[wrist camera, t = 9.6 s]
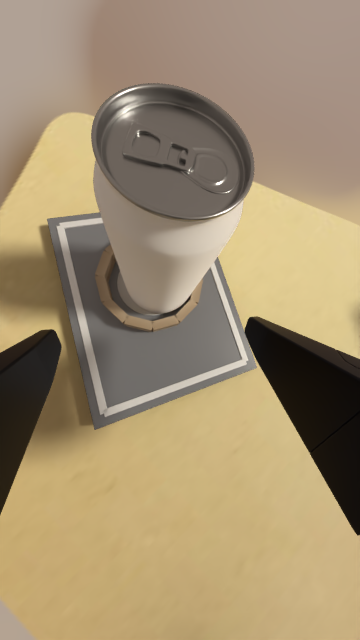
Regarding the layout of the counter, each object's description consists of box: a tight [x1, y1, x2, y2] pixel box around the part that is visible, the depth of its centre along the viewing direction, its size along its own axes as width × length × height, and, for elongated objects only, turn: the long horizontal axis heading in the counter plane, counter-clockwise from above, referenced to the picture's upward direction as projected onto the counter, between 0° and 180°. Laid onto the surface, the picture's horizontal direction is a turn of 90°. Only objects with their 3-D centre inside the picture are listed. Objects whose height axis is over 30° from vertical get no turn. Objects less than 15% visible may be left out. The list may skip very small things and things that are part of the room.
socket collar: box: [95, 245, 203, 332], centre depth 17 cm, size 10×10×2 cm
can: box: [91, 83, 254, 313], centre depth 12 cm, size 6×6×12 cm
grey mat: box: [47, 213, 257, 430], centre depth 18 cm, size 16×20×1 cm
